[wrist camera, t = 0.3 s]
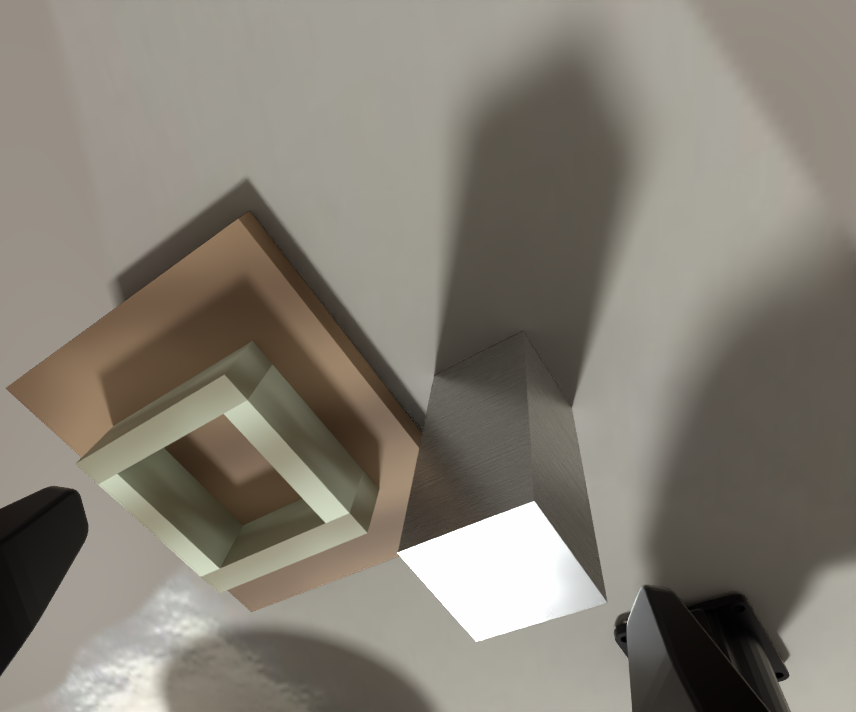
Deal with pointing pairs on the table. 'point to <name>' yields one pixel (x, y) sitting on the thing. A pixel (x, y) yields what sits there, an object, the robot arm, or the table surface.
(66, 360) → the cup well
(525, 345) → the grey tall block
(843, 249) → the table surface
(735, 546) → the table surface
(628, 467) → the table surface
